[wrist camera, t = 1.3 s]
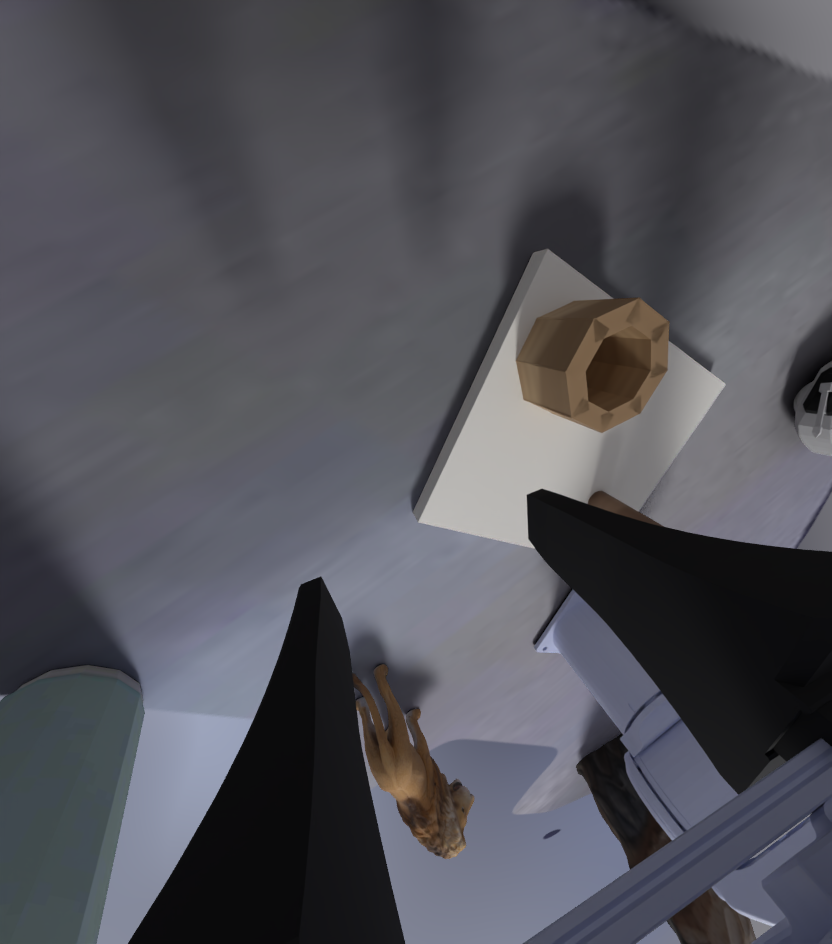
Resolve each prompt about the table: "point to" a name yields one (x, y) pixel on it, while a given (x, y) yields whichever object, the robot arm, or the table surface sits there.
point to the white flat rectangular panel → (552, 428)
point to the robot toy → (816, 412)
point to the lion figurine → (412, 773)
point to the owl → (655, 847)
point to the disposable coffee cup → (63, 800)
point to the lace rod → (617, 507)
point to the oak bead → (595, 360)
